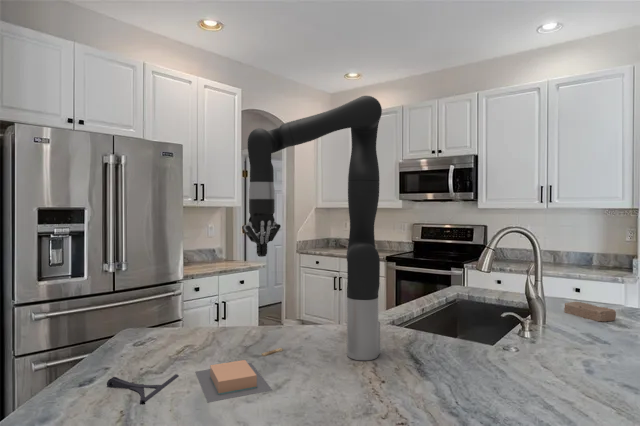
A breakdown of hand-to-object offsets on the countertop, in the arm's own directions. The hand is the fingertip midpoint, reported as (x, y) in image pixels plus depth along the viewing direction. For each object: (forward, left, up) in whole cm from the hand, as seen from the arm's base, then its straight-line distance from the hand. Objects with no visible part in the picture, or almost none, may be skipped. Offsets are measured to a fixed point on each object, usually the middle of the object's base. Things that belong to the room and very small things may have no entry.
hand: (262, 256), depth 126 cm
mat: (+18, +12, -29) cm, 36 cm away
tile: (+17, +7, -27) cm, 32 cm away
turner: (+2, +3, -29) cm, 29 cm away
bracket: (+36, -2, -30) cm, 47 cm away
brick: (-118, +57, -30) cm, 134 cm away
